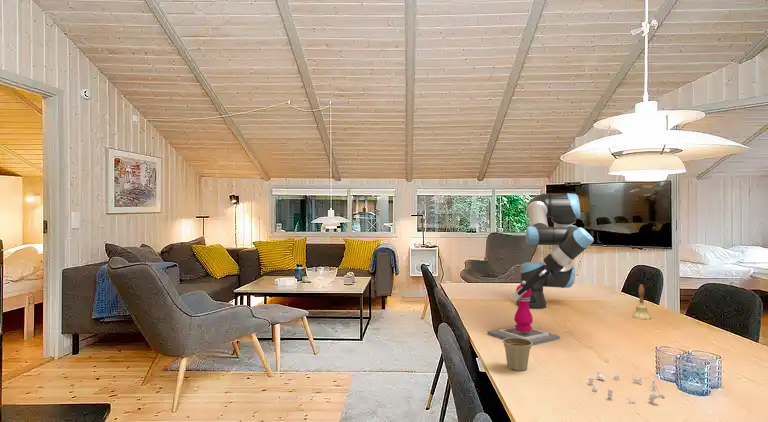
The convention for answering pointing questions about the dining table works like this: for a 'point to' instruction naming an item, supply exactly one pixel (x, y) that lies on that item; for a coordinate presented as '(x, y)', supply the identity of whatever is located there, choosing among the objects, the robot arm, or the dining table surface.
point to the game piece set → (616, 377)
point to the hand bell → (641, 306)
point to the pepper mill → (523, 312)
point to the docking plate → (524, 335)
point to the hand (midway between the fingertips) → (514, 297)
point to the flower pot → (517, 353)
